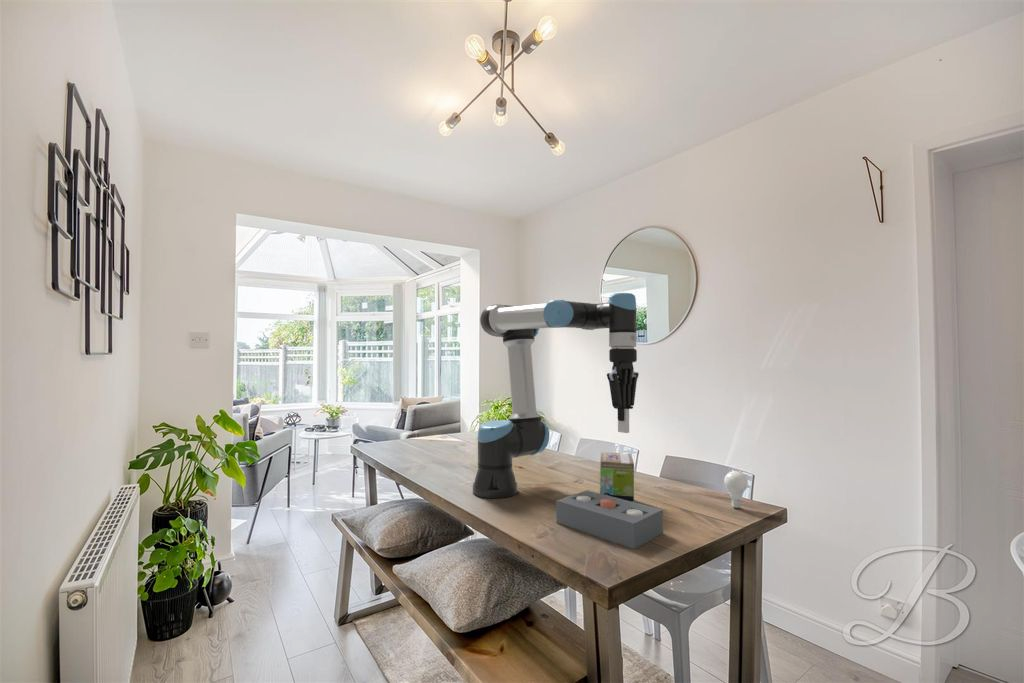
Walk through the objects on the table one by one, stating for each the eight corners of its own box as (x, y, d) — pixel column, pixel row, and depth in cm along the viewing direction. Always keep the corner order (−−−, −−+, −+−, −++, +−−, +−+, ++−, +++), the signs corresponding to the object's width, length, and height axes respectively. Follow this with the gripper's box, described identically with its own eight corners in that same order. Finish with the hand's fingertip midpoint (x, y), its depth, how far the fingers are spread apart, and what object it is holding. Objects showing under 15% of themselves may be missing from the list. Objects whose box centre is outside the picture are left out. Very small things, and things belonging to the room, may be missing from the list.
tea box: (635, 514, 131) (634, 462, 132) (599, 511, 133) (599, 461, 134) (631, 498, 146) (631, 452, 146) (600, 496, 148) (599, 450, 148)
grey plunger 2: (623, 533, 115) (623, 511, 115) (632, 529, 118) (631, 508, 118) (637, 538, 112) (637, 515, 112) (645, 533, 115) (645, 511, 115)
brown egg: (597, 521, 121) (597, 500, 121) (605, 517, 123) (605, 497, 124) (610, 525, 118) (610, 504, 118) (618, 521, 121) (618, 500, 121)
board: (556, 522, 124) (556, 500, 124) (587, 510, 134) (587, 490, 134) (634, 549, 107) (634, 523, 107) (662, 533, 117) (662, 509, 117)
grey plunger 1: (573, 517, 126) (573, 497, 127) (582, 514, 129) (582, 494, 129) (585, 521, 123) (585, 501, 124) (593, 517, 126) (593, 497, 126)
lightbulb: (720, 506, 137) (719, 470, 138) (733, 503, 140) (733, 467, 141) (739, 513, 132) (738, 475, 132) (753, 509, 135) (752, 472, 135)
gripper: (621, 347, 121) (622, 436, 120) (646, 348, 130) (647, 431, 129) (598, 348, 126) (598, 433, 125) (623, 348, 135) (624, 428, 134)
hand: (623, 432), depth 127 cm, fingers closed
